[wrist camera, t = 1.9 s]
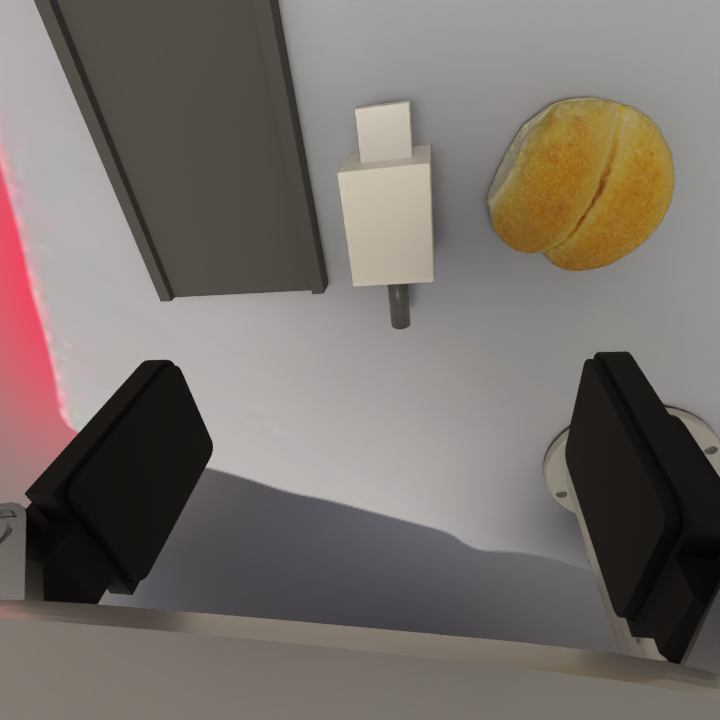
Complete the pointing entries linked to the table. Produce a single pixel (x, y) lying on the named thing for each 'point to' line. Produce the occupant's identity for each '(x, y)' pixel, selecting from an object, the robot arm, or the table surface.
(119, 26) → the dark grey flat tray
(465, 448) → the table surface
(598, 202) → the bread roll
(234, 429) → the table surface
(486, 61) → the table surface
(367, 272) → the plug
